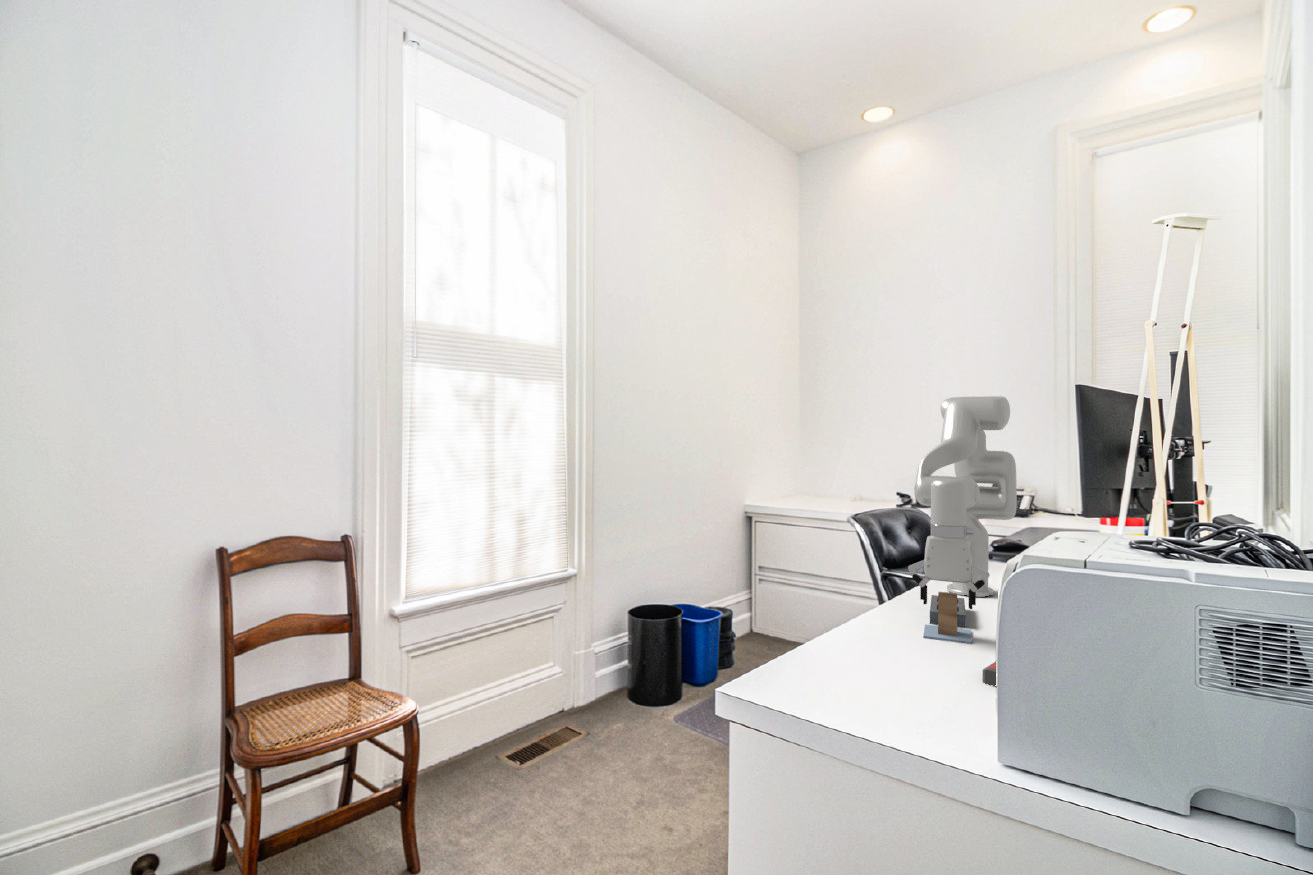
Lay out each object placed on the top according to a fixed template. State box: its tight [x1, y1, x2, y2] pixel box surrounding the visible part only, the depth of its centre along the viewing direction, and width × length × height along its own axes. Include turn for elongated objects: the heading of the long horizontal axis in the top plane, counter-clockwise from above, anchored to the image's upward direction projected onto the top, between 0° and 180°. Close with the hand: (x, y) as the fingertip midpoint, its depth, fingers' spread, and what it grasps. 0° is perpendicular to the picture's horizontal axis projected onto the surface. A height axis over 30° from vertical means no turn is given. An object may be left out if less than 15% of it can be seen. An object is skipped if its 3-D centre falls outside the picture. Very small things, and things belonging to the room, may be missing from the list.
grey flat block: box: [929, 594, 967, 628], centre depth 166 cm, size 18×8×3 cm, turn 155°
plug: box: [937, 591, 958, 636], centre depth 151 cm, size 4×4×9 cm
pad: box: [922, 624, 973, 645], centre depth 151 cm, size 10×10×1 cm
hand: (947, 605), depth 151 cm, fingers open, 9 cm apart
